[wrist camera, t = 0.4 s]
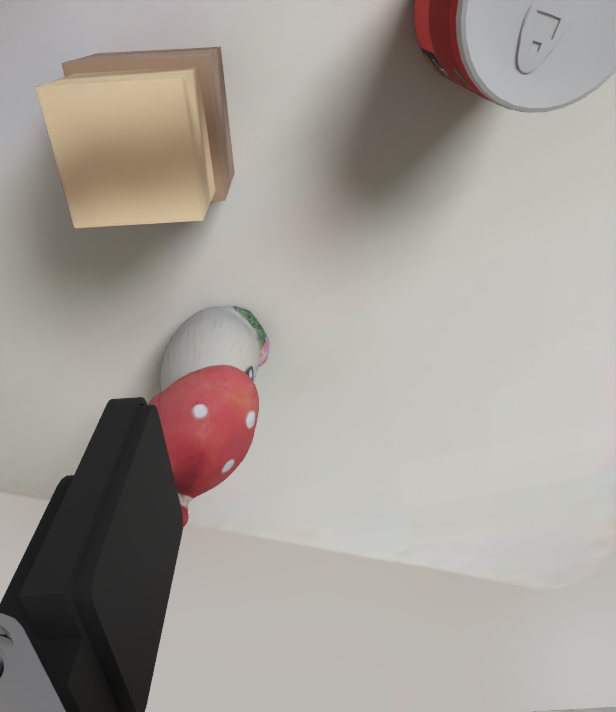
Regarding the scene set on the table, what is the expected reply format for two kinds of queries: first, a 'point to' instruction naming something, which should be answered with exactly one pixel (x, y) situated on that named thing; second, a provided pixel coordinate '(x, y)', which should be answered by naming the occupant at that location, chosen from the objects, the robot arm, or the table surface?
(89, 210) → the oak block
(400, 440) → the table surface
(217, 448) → the decorative ornament
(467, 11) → the canned food
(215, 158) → the walnut base
